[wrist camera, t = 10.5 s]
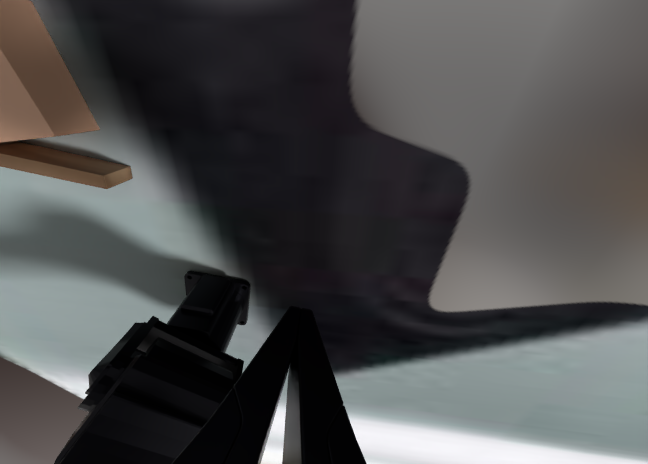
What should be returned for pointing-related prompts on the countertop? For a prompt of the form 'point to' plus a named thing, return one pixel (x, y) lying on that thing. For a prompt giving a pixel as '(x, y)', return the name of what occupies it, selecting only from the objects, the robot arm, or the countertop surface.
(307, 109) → the countertop surface
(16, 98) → the tan trapezoid block
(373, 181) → the countertop surface
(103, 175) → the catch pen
